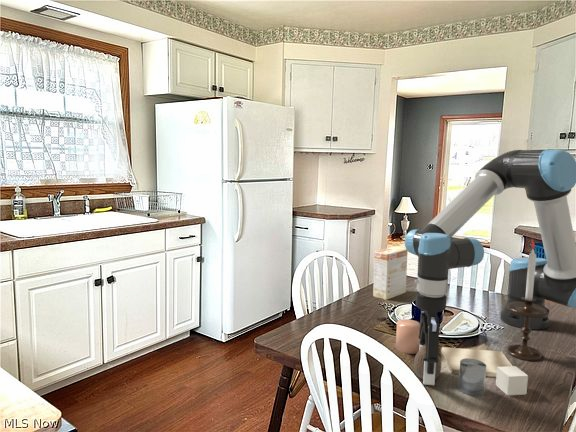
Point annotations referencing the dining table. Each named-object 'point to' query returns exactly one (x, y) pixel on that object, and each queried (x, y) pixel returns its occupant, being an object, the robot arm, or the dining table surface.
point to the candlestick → (527, 315)
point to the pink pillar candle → (407, 336)
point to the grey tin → (472, 377)
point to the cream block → (511, 380)
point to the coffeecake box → (390, 272)
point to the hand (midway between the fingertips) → (426, 375)
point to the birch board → (486, 356)
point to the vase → (420, 363)
